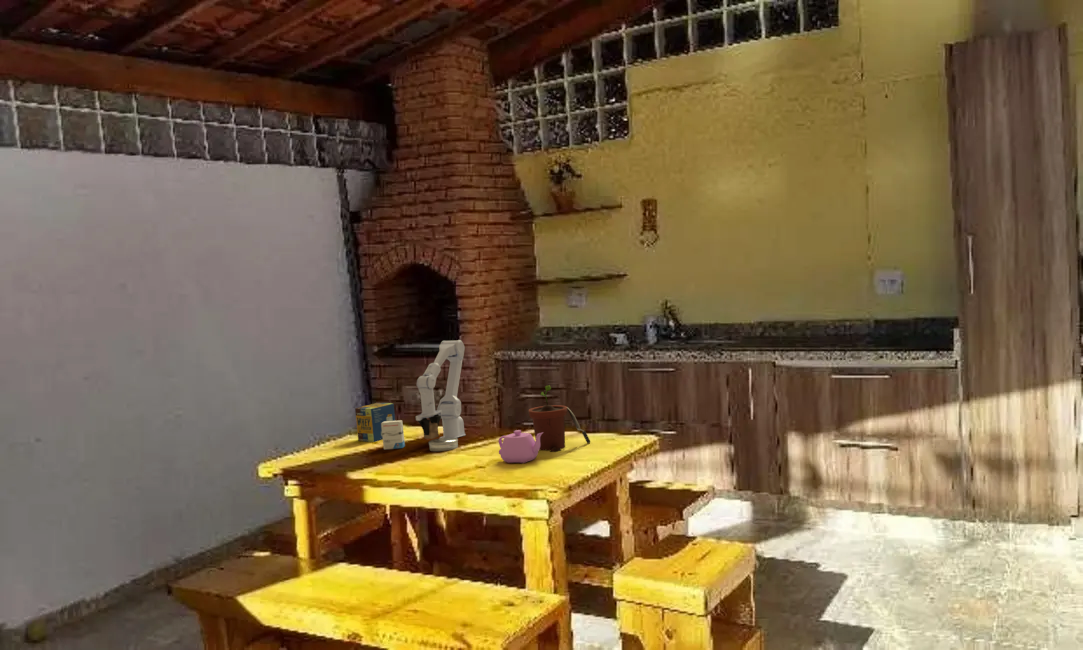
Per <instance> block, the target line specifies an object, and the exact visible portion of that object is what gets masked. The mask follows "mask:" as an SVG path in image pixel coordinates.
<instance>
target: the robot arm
mask: <svg viewBox="0 0 1083 650" xmlns="http://www.w3.org/2000/svg"><path fill="white" fill-rule="evenodd" d="M438 348H439V351H438V353H437V355H436V357H435V359H434V361H433V362H431V363H429V364H428V365H427V368H426V369H425V371H424V373H423V374H422V375H420V376H419V377H418V378H417V380H416V387H417V389H418V392H419V393H420V403H421V413H420V414H418V415H416V416H415V421H417V422H418V424H419V426H421V429H422V431H424V432H423V435H424V434H425V435H429V423H437V424H438V426H439V424H440V421H441V422H442V432H443V436H439V438H457V439H458V438H460V437H461V438H462V437H464V436H466V435H467V434H466V432H465V423H464V419H463V418H462V417H461V416H460V415H461V413H462V402H461V399H460V398H458V392H459V384H460V378H461V372H462V366H463V360H464V355H465V349H466V347H465V344H464V343H463V341H462V340H461V339H458V340H442V341H441V342H440V344H439V345H438ZM446 360H448V361H449V369H448V373H447V374H448V375H447V380H446V381H447V383H446V387H445V393H444V394H445V395H444V396H443V397H441V399H440V400H439V403H438V406H437V408H436V404H435V394H434V392H435V391H434V388H435V386H436V384H437V383H436V382H437V378H438V376H439V375H440V372H441V371H442V368H441V366H442V365H443V364H444V363H445V361H446Z"/></svg>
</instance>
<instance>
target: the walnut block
mask: <svg viewBox="0 0 1083 650" xmlns="http://www.w3.org/2000/svg"><path fill="white" fill-rule="evenodd" d="M422 431H423V430H422ZM437 438H440V436H439V425H438V424H437V423H431V422H430V423H429V435H425V434H424V431H423V439H426V440H427V439H429V440H434V439H437Z"/></svg>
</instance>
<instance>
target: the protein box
mask: <svg viewBox="0 0 1083 650" xmlns="http://www.w3.org/2000/svg"><path fill="white" fill-rule="evenodd" d="M354 409H355V411H354V412H355V421H356V422H355V423H356V432H357V440H358V442H367V443H368V442H370V443H376V442H379V441H383V437H382V427H381V423H382V422H384V421H396V414H395V404H394V403H392V402H390V403H389V402H375V403H371V404H368V405H363V406H360V407H355V408H354Z"/></svg>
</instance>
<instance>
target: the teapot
mask: <svg viewBox="0 0 1083 650" xmlns="http://www.w3.org/2000/svg"><path fill="white" fill-rule="evenodd" d="M543 433H544V432H542V433H539V434H537V436H536V439H534V437H533V435H532V434H531V433H528V432H522V430H521V429H518V430H517V429H516V430H513V433H510V434H507V435H502V436H500V437H498V445H499V447H500V449H499V450H498V454H499V455H500V458H501V460H502V461H504V462H505V463H508V464H513V463H520V464H526V463H527V462H530V461H533V460H535V459H536V458H537V456H538V455H539V451H540V450H539V449H540V436H541V435H542V434H543Z"/></svg>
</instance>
